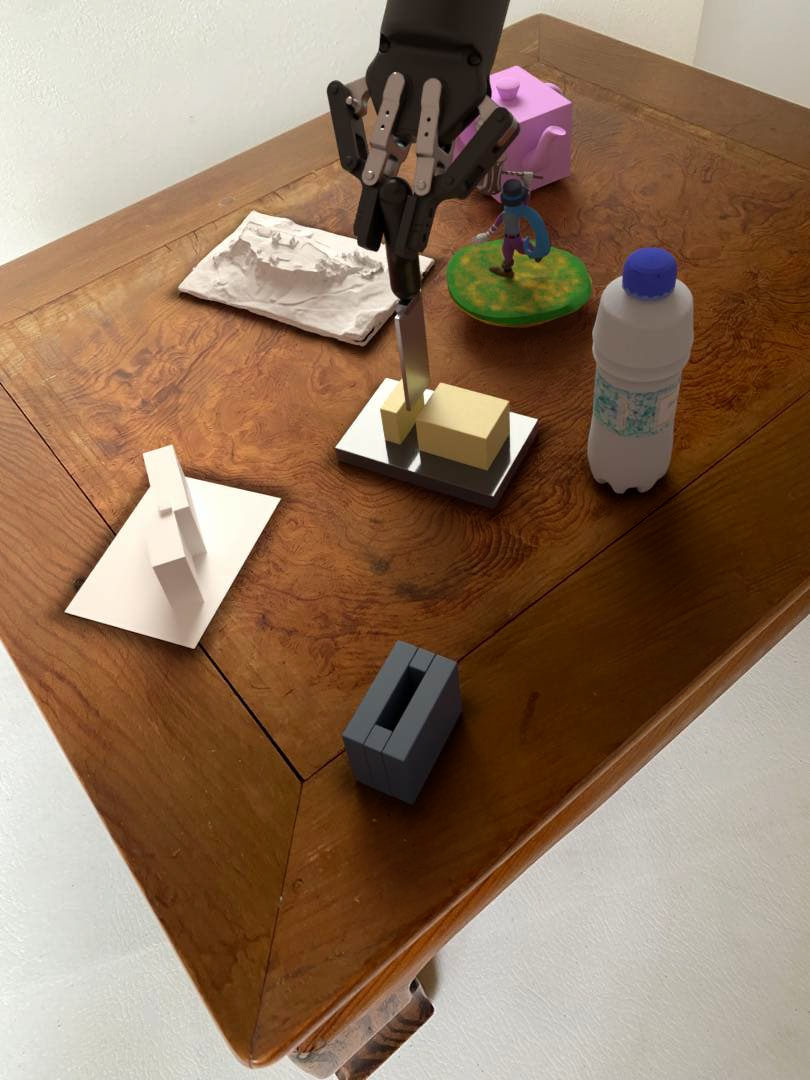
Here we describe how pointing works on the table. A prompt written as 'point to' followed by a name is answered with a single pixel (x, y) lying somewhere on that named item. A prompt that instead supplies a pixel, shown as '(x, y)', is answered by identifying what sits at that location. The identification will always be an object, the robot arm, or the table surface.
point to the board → (426, 469)
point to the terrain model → (299, 278)
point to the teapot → (531, 127)
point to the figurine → (516, 265)
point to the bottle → (639, 370)
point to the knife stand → (404, 721)
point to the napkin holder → (174, 555)
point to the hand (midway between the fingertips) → (386, 252)
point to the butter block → (463, 425)
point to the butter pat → (398, 415)
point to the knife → (405, 294)
